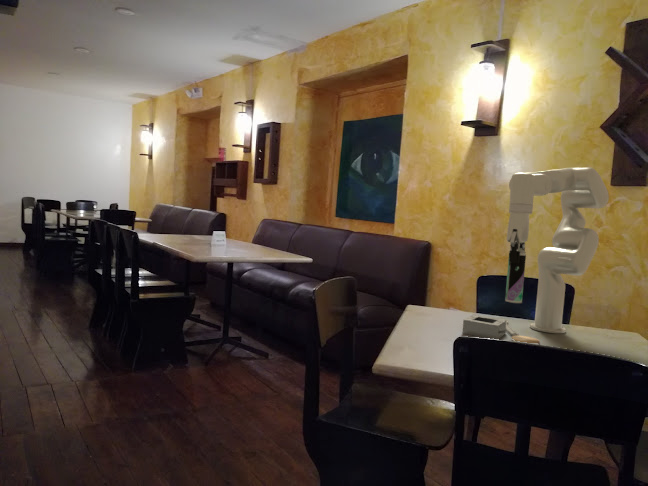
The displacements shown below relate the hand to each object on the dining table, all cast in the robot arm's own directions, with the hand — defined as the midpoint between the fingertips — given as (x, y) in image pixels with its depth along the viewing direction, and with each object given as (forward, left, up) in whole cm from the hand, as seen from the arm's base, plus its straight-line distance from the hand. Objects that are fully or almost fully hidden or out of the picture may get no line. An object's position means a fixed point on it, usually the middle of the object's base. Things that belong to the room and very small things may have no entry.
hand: (516, 261), depth 174 cm
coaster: (0, +5, -27) cm, 28 cm away
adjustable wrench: (-14, -5, -28) cm, 31 cm away
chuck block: (0, -9, -27) cm, 28 cm away
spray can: (0, 0, -14) cm, 14 cm away
